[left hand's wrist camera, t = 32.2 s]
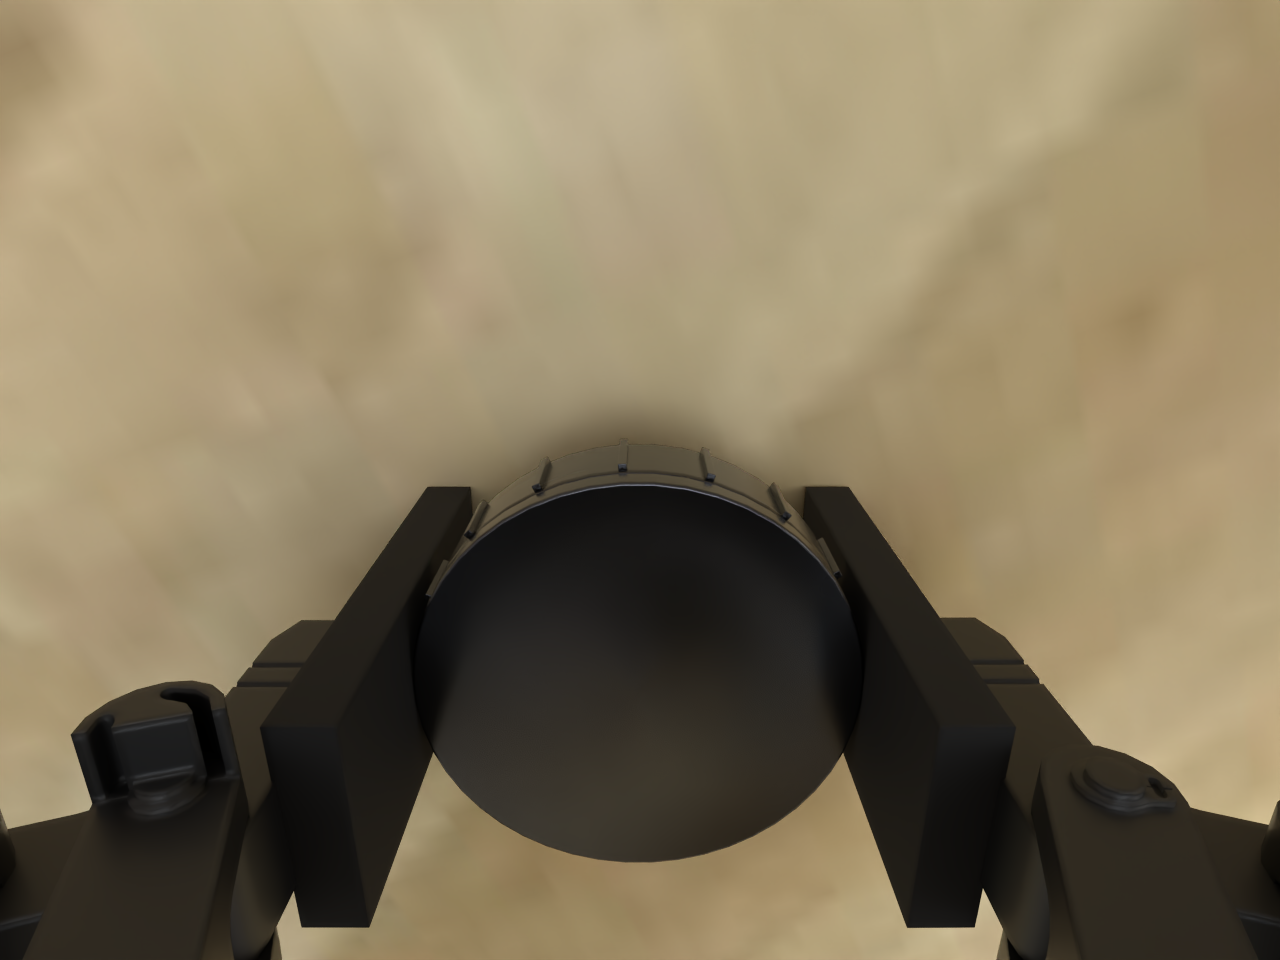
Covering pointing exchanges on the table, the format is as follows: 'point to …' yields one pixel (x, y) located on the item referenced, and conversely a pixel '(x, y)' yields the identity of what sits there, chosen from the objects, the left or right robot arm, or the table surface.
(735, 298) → the table surface
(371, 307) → the table surface
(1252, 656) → the table surface
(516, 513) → the lid
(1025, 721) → the left robot arm
